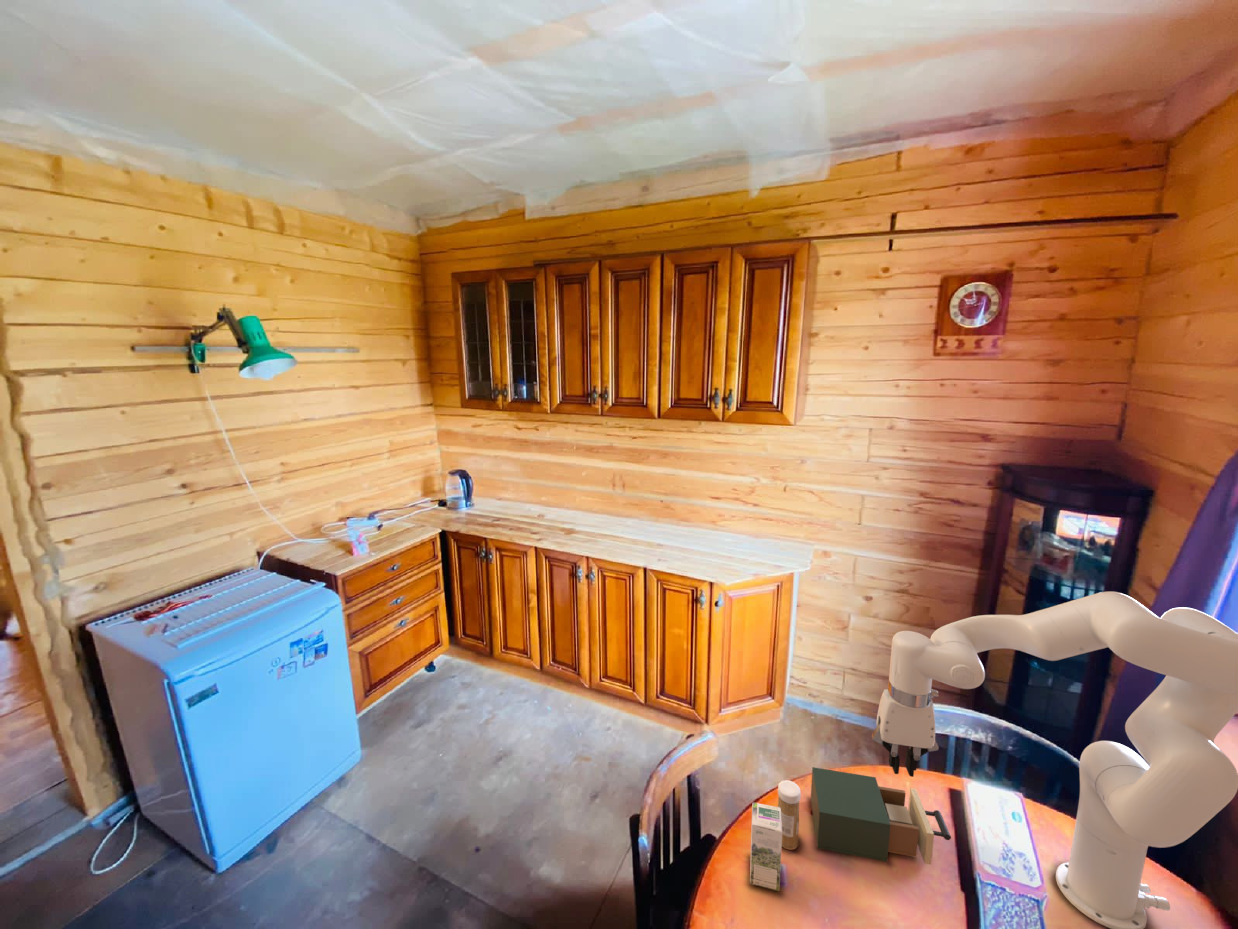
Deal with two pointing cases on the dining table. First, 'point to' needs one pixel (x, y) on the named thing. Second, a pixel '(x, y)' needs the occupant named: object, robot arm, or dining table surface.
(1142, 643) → the robot arm
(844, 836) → the cabinet
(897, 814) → the block
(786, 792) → the spice jar
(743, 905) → the dining table surface
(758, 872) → the syrup box
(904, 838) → the drawer
